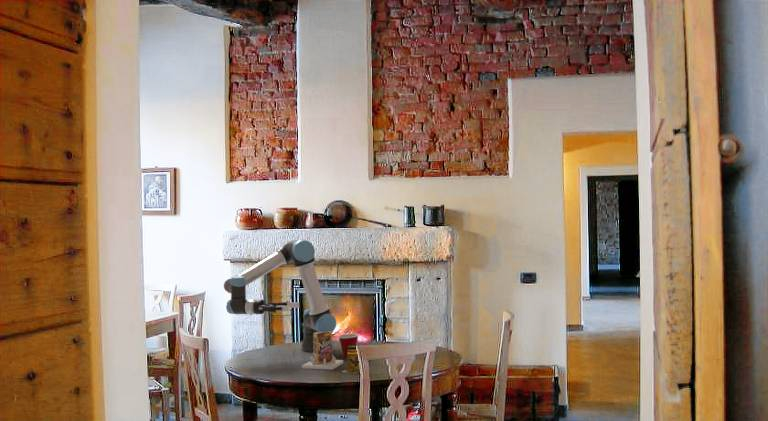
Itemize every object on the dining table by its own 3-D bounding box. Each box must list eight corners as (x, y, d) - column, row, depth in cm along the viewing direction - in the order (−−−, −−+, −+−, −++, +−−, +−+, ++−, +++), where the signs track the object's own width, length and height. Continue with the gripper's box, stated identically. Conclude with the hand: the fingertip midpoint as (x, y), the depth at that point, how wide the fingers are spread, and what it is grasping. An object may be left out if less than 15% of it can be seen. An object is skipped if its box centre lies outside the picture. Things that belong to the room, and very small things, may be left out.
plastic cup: (336, 356, 345) (336, 334, 346) (356, 355, 348) (355, 332, 349) (340, 360, 335) (340, 337, 335) (360, 358, 338) (360, 335, 338)
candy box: (317, 364, 317) (316, 333, 318) (312, 363, 321) (312, 332, 321) (332, 362, 323) (332, 331, 323) (328, 360, 326) (327, 330, 327)
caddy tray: (313, 362, 332) (313, 353, 332) (343, 363, 327) (343, 354, 327) (301, 368, 316) (301, 359, 316) (332, 369, 312) (332, 360, 312)
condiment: (355, 373, 302) (355, 348, 302) (340, 372, 306) (340, 346, 306) (363, 370, 308) (363, 345, 309) (348, 369, 312) (348, 344, 313)
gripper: (266, 310, 345) (303, 310, 339) (244, 317, 321) (284, 317, 315) (266, 296, 345) (303, 296, 339) (244, 302, 321) (283, 302, 315)
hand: (294, 306), depth 327 cm, fingers open, 13 cm apart
